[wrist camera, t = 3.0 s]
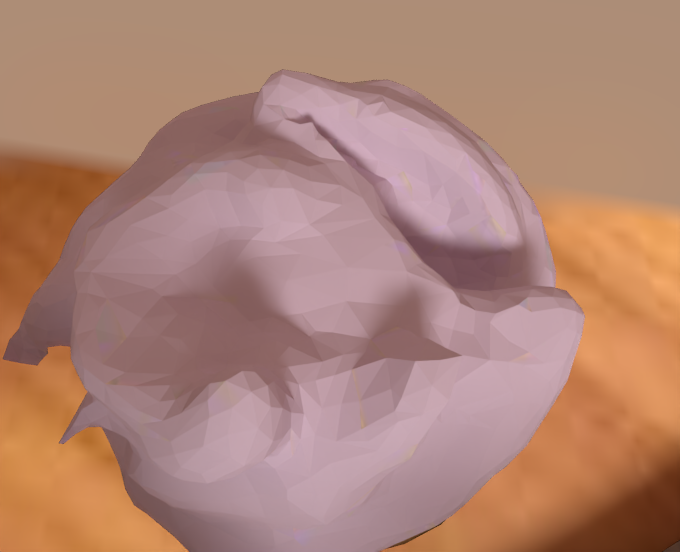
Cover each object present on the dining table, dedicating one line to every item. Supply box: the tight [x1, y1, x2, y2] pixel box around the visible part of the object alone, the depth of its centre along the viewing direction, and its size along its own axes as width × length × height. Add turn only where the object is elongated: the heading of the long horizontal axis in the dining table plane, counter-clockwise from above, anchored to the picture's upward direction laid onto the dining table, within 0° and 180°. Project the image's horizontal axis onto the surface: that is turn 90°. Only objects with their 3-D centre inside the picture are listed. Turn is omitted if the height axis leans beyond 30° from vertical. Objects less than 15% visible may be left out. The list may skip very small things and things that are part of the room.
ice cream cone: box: [3, 70, 585, 552], centre depth 12 cm, size 7×6×15 cm
